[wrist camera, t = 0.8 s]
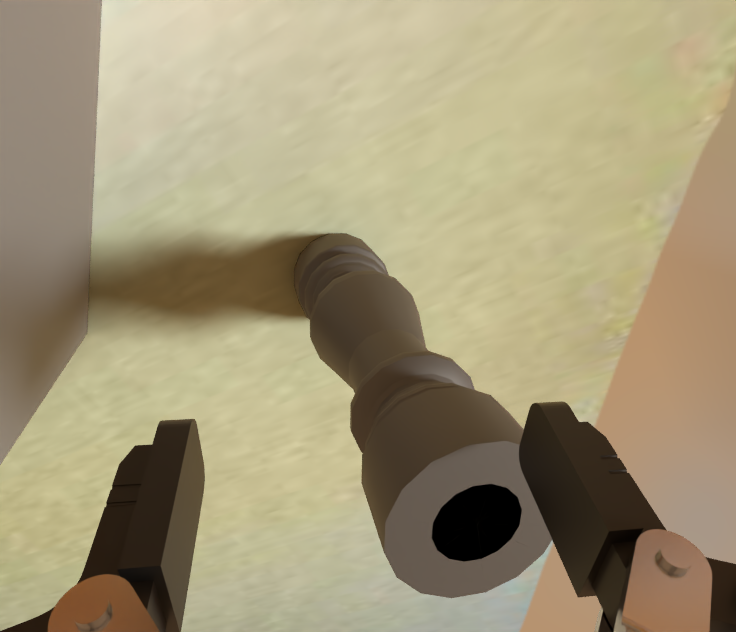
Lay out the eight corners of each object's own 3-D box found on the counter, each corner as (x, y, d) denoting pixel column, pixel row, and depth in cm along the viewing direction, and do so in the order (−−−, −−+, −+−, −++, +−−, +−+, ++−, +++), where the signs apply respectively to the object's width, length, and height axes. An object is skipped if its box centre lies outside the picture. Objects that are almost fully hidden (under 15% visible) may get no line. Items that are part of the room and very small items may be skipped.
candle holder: (385, 305, 40) (575, 568, 17) (303, 325, 39) (391, 628, 17) (371, 224, 38) (572, 407, 15) (284, 243, 37) (356, 468, 14)
